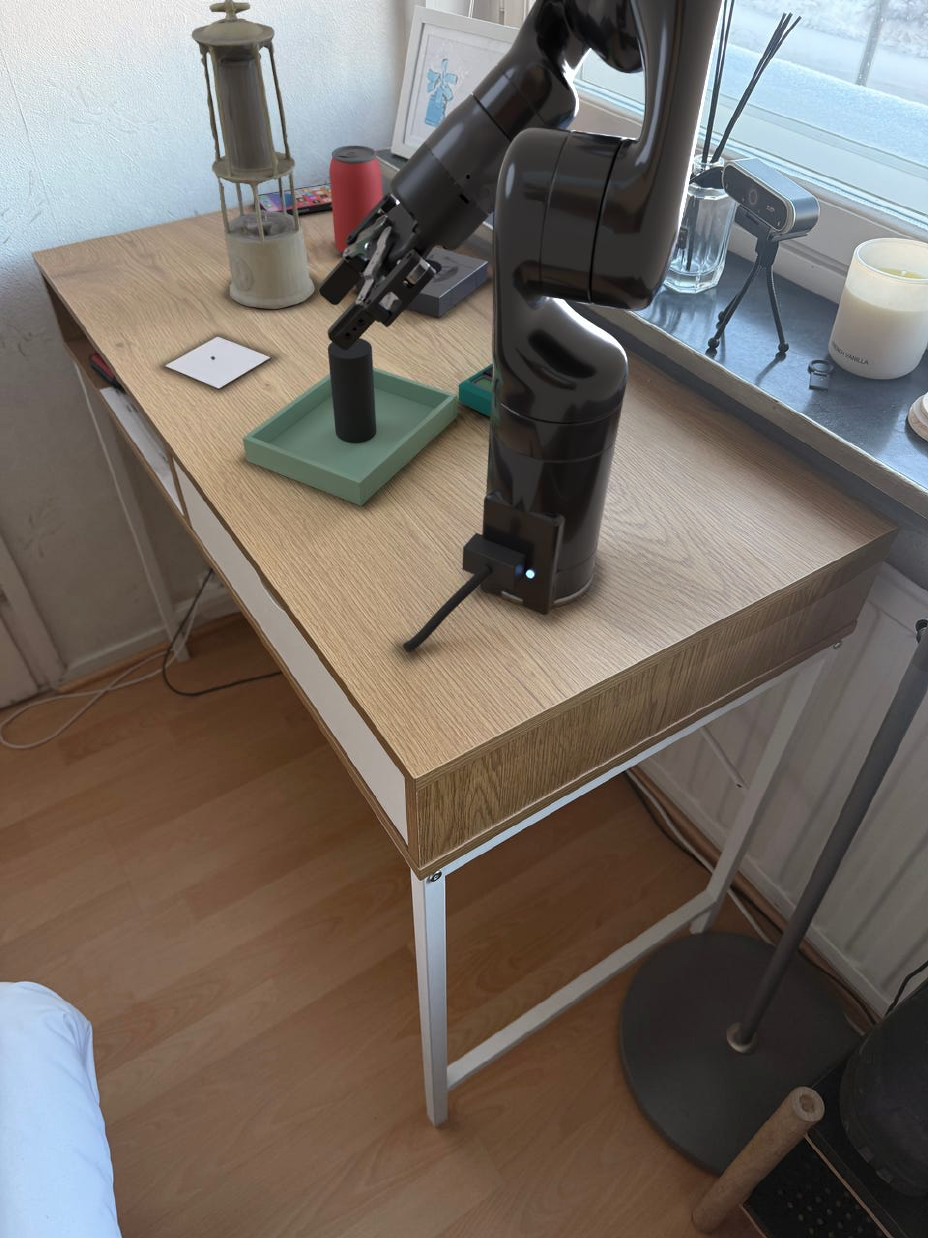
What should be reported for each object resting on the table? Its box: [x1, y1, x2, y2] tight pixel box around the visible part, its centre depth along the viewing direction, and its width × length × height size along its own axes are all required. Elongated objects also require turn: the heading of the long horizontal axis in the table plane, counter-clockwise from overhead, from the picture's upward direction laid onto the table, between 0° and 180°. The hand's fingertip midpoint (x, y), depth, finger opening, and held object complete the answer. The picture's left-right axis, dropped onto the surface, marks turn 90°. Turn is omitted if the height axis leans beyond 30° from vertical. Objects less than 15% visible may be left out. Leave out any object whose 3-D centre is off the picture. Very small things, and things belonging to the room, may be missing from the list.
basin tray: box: [242, 366, 458, 507], centre depth 85 cm, size 17×13×3 cm
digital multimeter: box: [457, 362, 493, 418], centre depth 92 cm, size 7×15×3 cm, turn 142°
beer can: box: [328, 145, 383, 255], centre depth 112 cm, size 7×7×12 cm
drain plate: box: [355, 246, 489, 319], centre depth 108 cm, size 12×12×2 cm
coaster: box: [164, 336, 271, 389], centre depth 95 cm, size 8×8×1 cm
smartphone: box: [253, 182, 332, 216], centre depth 127 cm, size 7×1×15 cm
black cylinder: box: [327, 337, 376, 443], centre depth 82 cm, size 4×4×9 cm
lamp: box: [191, 0, 316, 310], centre depth 98 cm, size 10×13×30 cm
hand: (330, 319), depth 76 cm, fingers open, 8 cm apart
